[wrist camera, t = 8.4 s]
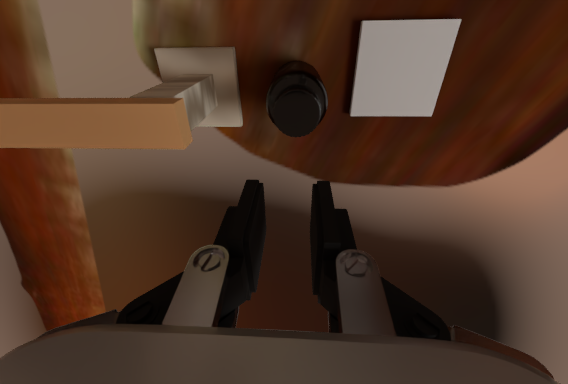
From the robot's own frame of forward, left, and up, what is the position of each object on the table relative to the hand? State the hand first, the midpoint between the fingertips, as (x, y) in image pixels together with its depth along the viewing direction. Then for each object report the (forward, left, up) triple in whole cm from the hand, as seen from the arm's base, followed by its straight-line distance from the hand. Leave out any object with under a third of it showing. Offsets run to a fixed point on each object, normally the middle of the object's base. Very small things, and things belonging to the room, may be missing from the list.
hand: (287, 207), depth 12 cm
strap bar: (0, -22, -13) cm, 25 cm away
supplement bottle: (0, 0, -27) cm, 27 cm away
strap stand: (0, -13, -27) cm, 30 cm away
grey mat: (-2, +13, -27) cm, 30 cm away
